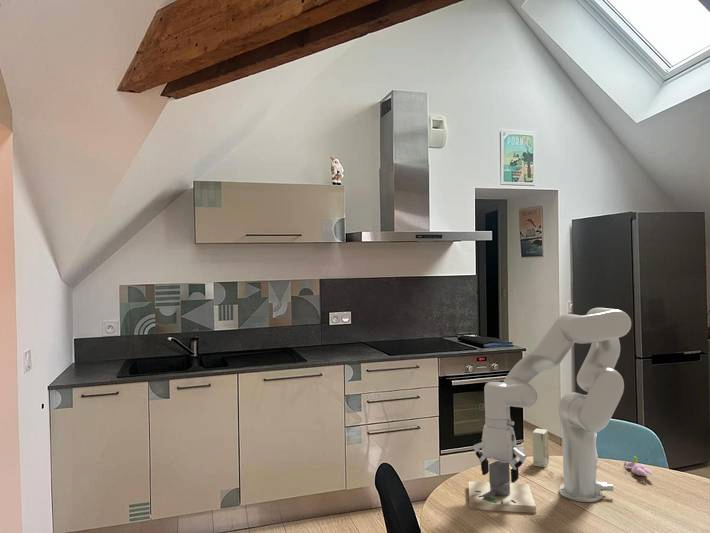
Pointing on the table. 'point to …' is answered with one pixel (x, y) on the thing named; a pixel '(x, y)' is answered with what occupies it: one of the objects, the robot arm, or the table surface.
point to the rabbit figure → (637, 467)
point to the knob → (498, 479)
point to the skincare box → (540, 447)
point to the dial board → (501, 498)
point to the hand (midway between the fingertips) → (499, 477)
